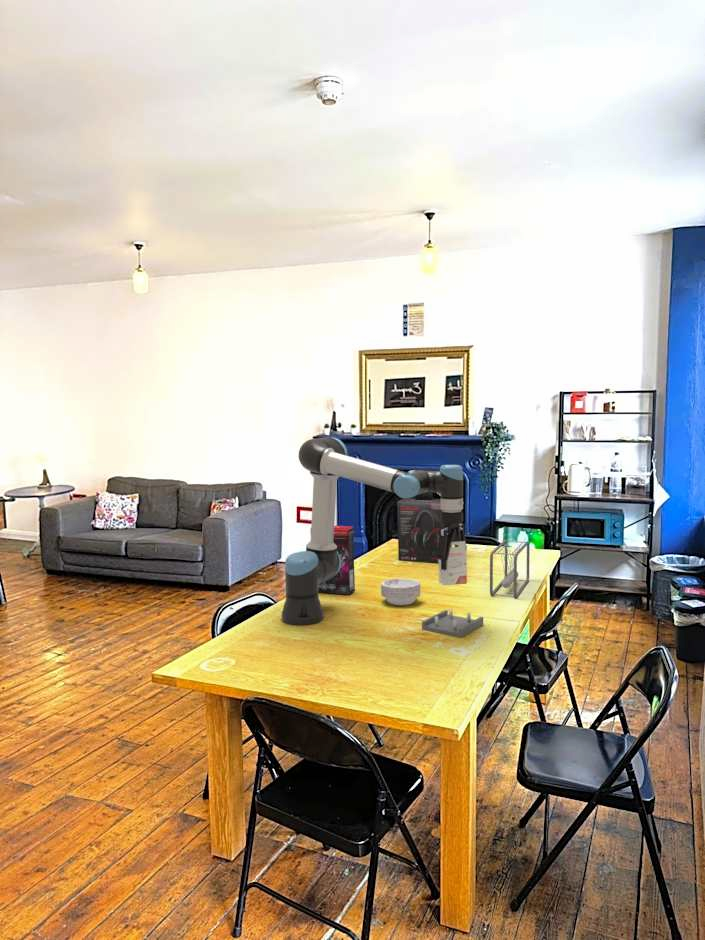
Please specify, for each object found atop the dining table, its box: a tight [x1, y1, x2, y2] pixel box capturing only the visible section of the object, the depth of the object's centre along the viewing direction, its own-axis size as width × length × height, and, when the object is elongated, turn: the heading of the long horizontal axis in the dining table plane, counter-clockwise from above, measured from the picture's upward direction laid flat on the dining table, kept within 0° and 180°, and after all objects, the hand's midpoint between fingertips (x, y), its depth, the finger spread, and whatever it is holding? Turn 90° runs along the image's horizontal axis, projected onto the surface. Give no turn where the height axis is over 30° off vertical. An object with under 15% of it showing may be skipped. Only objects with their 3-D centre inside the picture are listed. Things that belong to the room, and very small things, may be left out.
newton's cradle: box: [489, 539, 531, 599], centre depth 285 cm, size 30×10×18 cm, turn 156°
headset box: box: [396, 492, 453, 564], centre depth 339 cm, size 25×12×33 cm, turn 68°
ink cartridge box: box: [437, 541, 468, 587], centre depth 236 cm, size 9×5×15 cm, turn 106°
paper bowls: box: [380, 578, 421, 606], centre depth 268 cm, size 15×15×8 cm
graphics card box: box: [310, 525, 356, 596], centre depth 283 cm, size 17×7×27 cm, turn 71°
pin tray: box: [421, 608, 484, 639], centre depth 238 cm, size 16×15×4 cm
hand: (452, 575), depth 237 cm, fingers closed on ink cartridge box, 9 cm apart
